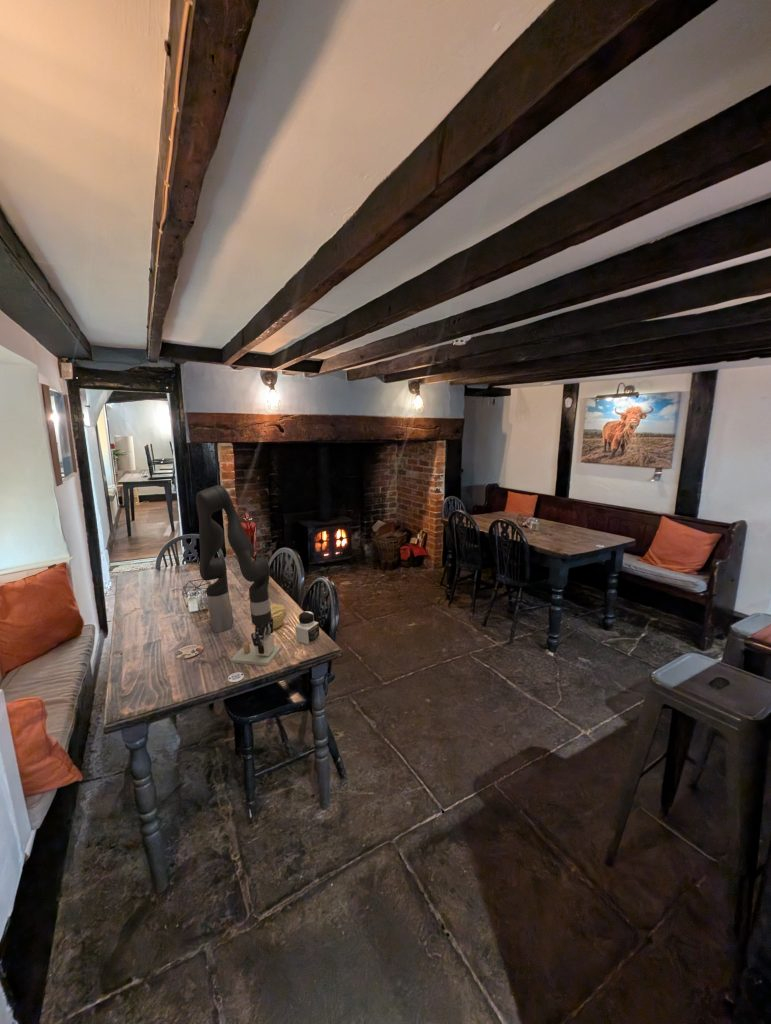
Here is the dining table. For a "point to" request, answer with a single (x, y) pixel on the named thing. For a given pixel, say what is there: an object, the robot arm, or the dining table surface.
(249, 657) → the board
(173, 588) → the dining table surface
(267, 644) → the beige block
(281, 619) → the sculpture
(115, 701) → the dining table surface
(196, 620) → the dining table surface
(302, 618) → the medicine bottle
